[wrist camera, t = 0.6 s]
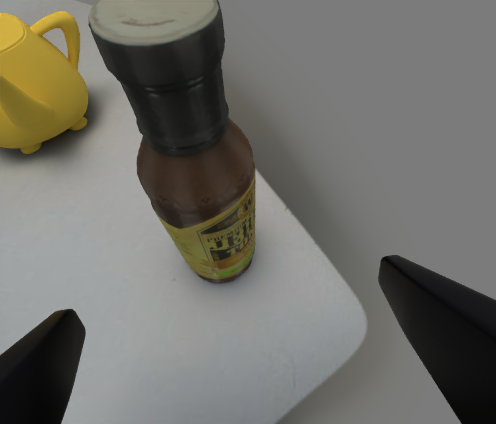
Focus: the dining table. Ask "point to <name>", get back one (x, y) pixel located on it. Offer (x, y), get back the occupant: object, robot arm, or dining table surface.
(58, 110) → the teapot
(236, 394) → the dining table surface
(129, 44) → the sauce bottle
